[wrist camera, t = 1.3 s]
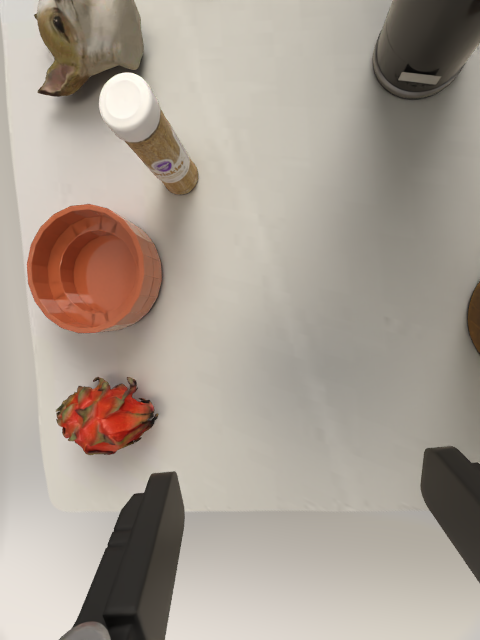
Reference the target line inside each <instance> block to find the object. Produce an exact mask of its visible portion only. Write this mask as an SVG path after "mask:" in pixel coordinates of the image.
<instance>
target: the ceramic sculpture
mask: <svg viewBox="0 0 480 640" xmlns="http://www.w3.org/2000/svg"><path fill="white" fill-rule="evenodd" d="M34 16H35V18H36V19H37V21H38V27H39V31H40V35H41V37H42V39H43V41H44V43H45V45H46V46H47V48H48V49H49V50H50V52H51V53H52V55H53V56H54V58H55V61H54V63H53V64H52V65H51V66H50V68H49V69H48V71H47V75H46V81H45V82H44V84H43V86H42V87H41V88H40V89H39V90H38V93H40V94H44V95H50V96H58V97H59V96H68V95H71V94H74V93H75V92H76V91H77V90H78V89H79V88H80V87H81V86H82V85H83V84H84V83H85V82H86V81H87V80H88V79H89V77H90V76H92V75H95V74H98V73H100V72H102V71H105V70H107V69H110V68H113V67H115V66H118V65H120V66H122V67H125V68H128V69H132V70H136V69H138V67H139V65H140V61H141V58H142V55H143V50H144V45H143V39H142V33H141V19H140V15H139V12H138V10H137V7H136V5H135V2H134V0H39V3H38V9H37V14H35V15H34Z"/></svg>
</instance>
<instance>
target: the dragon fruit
mask: <svg viewBox="0 0 480 640" xmlns="http://www.w3.org/2000/svg"><path fill="white" fill-rule="evenodd" d="M97 380H99V384H98V386H97V387H96V388H95V389H92V388H90V387H85V386H84V387H82V386H78V389H77V392H74V394H73V395H70V396H69V397H68V399H67V400H65V401H63V403H62V405H61V406H60V407H59V408H58V409H57V410H56V412H57V411H60V412H58V413H56V414H57V418H58V419H56V420H57V423H58V425H59V426H61V427H63V429H62V433H63V436H64V437H65V438H69V439H68V441H75V443H77V444H78V445H80V446H81V447H82V448H83V451H84V452H85V453H86V454H88V455H94V454H104V455H110V454H114V453H115V452H116V451H117V450H119V449H121V448H124V447H126V446H128V445H131V444H134V442H137V441H139V440H140V439H141V438H139V437H140V436H141V435H142V434H143V433H144V432H145V431H147V430H149V429H150V428H151V427H152V426H153V424H154V422H155V420H156V419H157V417H158V414H156V415H155V417H154V418H153V419H152V420H149V421H148V418H150V417H153V416H154V414H153V413H154V407H153V405H152V403H151V402H150V400H145V399H143V398H139V399H141V400H144V401H141V402H138V401H136V400H135V399H133V398H132V394H133V393H134V392H136V390H137V389H138V388H137V389H136V387H137V382H136V380H135V379H132V378H130V377H127V380H128V382H129V384H130V389H129V390H128V389H127V387H126V386H125V385H123V384H120V385H117V386H115V387H114V388H113V389H110V385H109V383H108V382H105V380H104V379H102V378H99V377H97V378H95V379H94V380H93V382H95V381H97Z"/></svg>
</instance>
